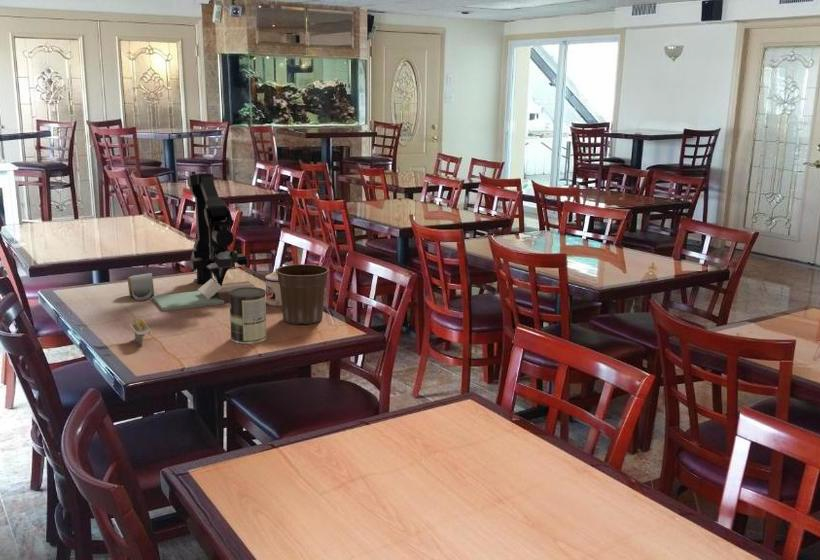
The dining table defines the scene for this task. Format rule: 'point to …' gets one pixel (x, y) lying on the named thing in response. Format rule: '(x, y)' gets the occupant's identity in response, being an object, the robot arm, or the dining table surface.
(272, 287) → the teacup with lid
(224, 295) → the walnut deck
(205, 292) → the ivory tile
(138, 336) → the yellow flower bouquet
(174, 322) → the dining table surface
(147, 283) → the ceramic mug
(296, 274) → the plant pot
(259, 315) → the coffee can
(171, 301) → the sage mat
